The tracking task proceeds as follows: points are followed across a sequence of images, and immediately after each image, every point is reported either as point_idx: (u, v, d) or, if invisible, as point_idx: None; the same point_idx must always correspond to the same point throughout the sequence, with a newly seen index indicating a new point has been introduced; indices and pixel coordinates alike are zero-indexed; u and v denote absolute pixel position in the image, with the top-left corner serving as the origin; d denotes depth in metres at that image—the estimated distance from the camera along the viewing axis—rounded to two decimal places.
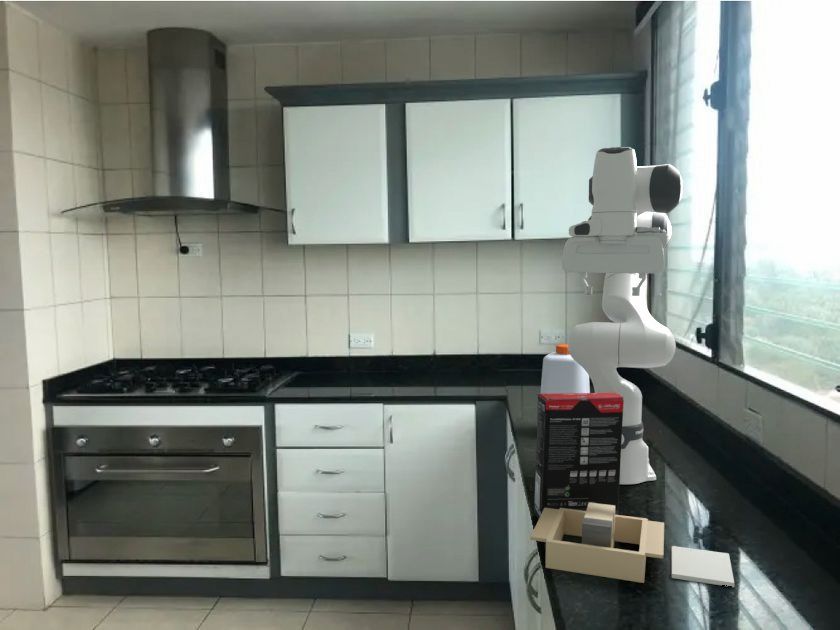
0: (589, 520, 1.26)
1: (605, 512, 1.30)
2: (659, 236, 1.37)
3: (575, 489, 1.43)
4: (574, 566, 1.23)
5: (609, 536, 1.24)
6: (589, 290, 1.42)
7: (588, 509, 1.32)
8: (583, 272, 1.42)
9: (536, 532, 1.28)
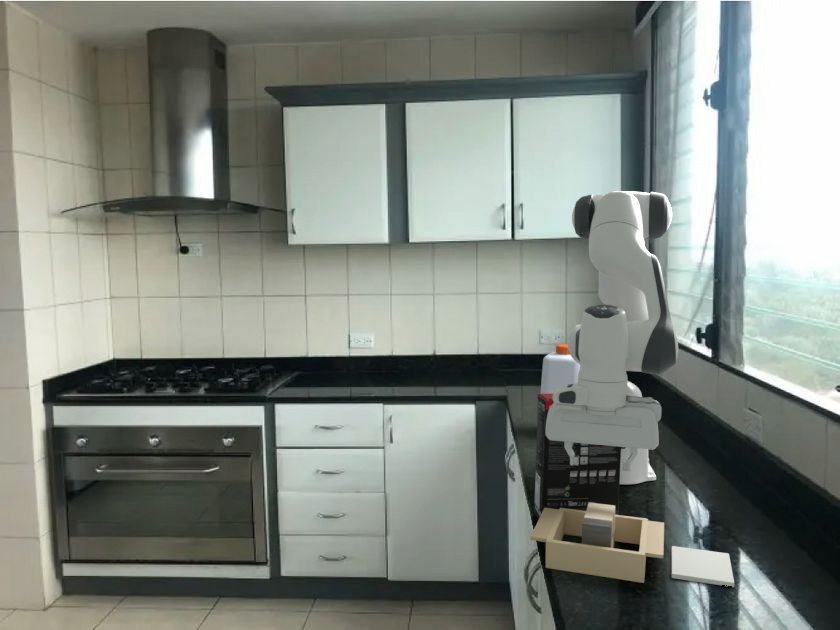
0: (589, 520, 1.26)
1: (605, 512, 1.30)
2: (652, 408, 1.24)
3: (575, 489, 1.43)
4: (574, 566, 1.23)
5: (609, 536, 1.24)
6: (575, 461, 1.29)
7: (588, 509, 1.32)
8: (569, 441, 1.28)
9: (536, 532, 1.28)
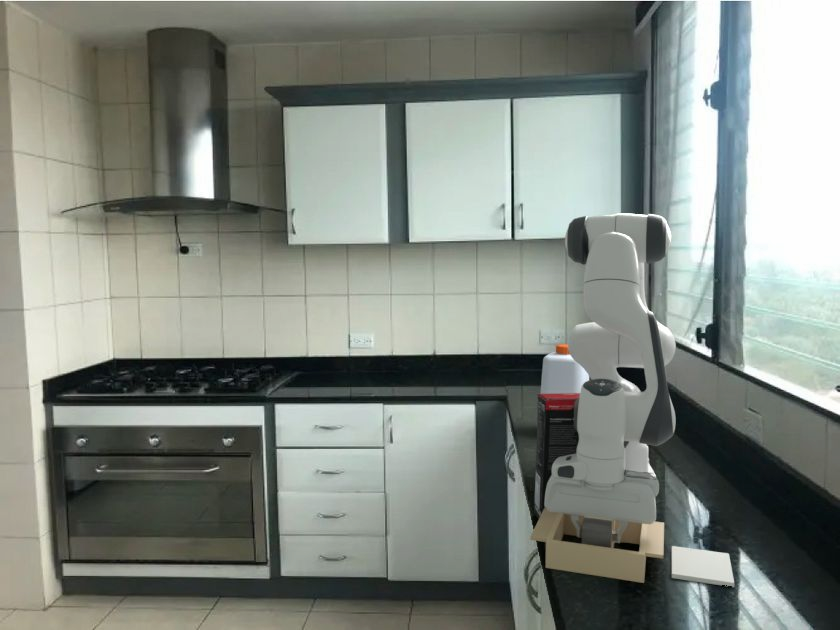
0: (589, 520, 1.26)
1: None
2: (650, 483, 1.25)
3: None
4: (574, 566, 1.23)
5: (609, 536, 1.24)
6: None
7: None
8: (567, 513, 1.30)
9: (536, 532, 1.28)
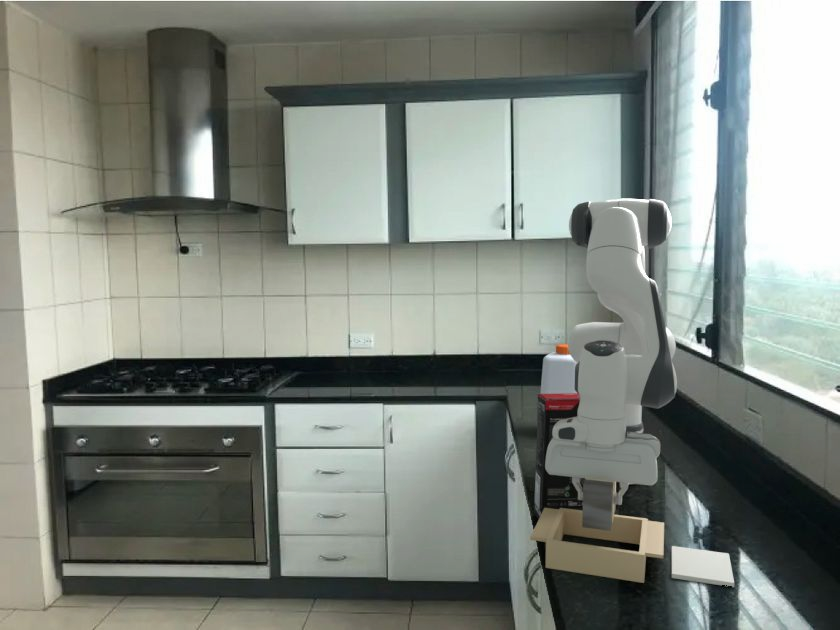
0: (590, 481, 1.26)
1: None
2: (651, 444, 1.25)
3: (575, 489, 1.43)
4: (574, 566, 1.23)
5: (610, 497, 1.23)
6: None
7: None
8: (568, 476, 1.30)
9: (536, 532, 1.28)
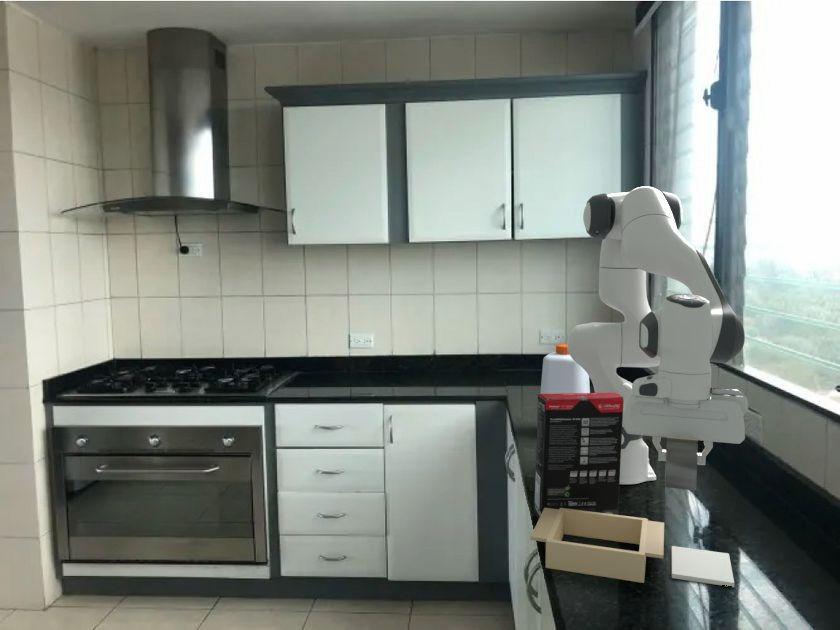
0: (673, 440, 1.21)
1: None
2: (738, 400, 1.19)
3: (575, 489, 1.43)
4: (574, 566, 1.23)
5: (696, 454, 1.18)
6: (664, 456, 1.24)
7: None
8: (648, 435, 1.24)
9: (536, 532, 1.28)
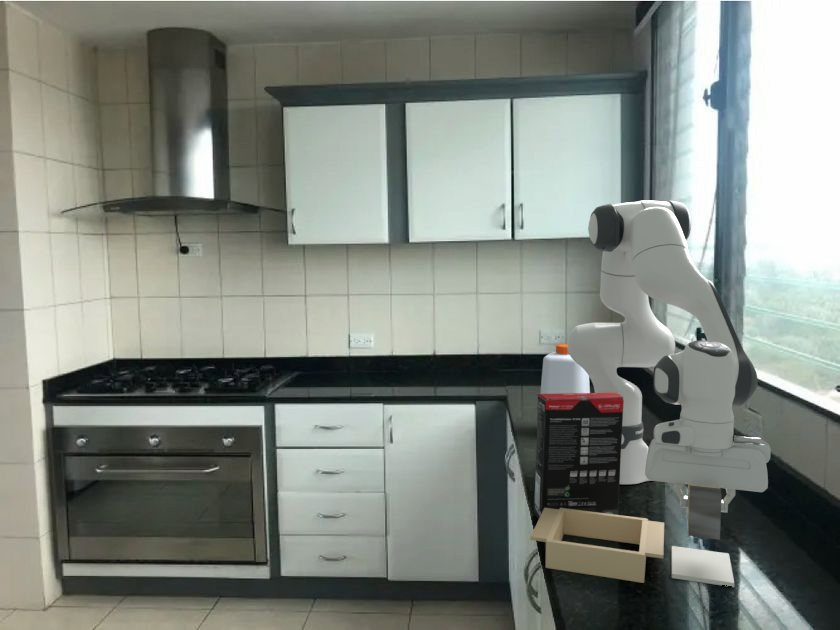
0: (696, 488, 1.20)
1: None
2: (761, 449, 1.19)
3: (575, 489, 1.43)
4: (574, 566, 1.23)
5: (720, 504, 1.18)
6: (686, 503, 1.24)
7: None
8: (670, 482, 1.24)
9: (536, 532, 1.28)
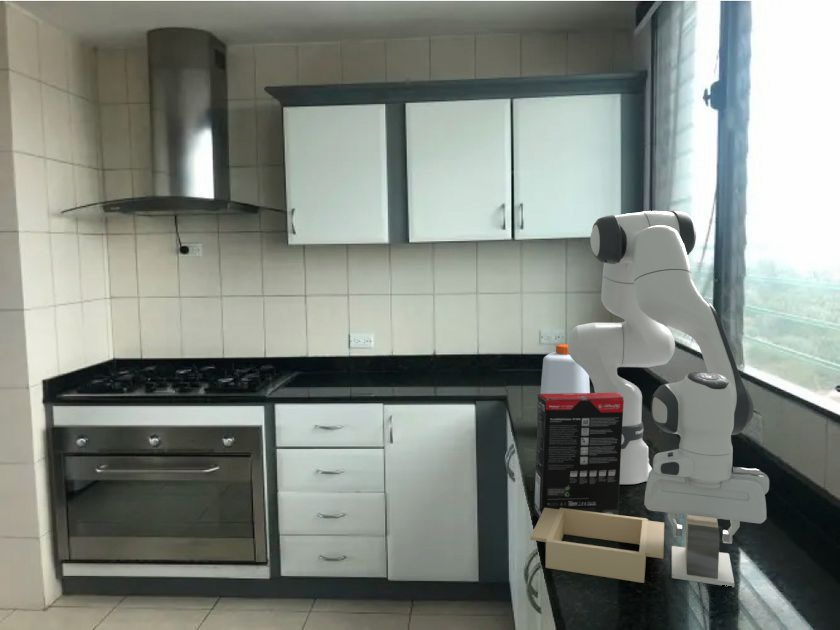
0: (694, 527, 1.21)
1: (708, 518, 1.25)
2: (759, 480, 1.20)
3: (575, 489, 1.43)
4: (574, 566, 1.23)
5: (718, 544, 1.18)
6: (679, 532, 1.25)
7: (689, 515, 1.27)
8: (669, 512, 1.25)
9: (536, 532, 1.28)
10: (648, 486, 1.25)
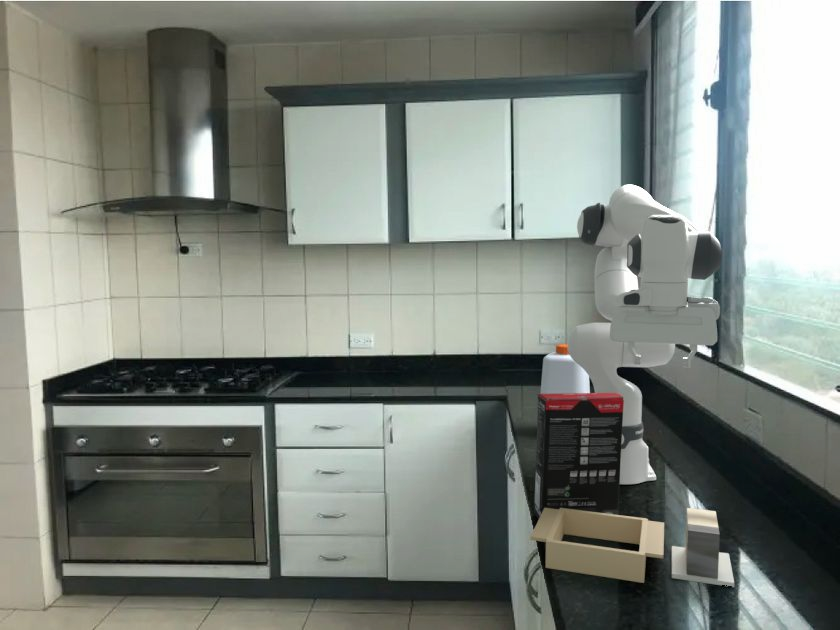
0: (694, 527, 1.21)
1: (708, 518, 1.25)
2: (711, 307, 1.34)
3: (575, 489, 1.43)
4: (574, 566, 1.23)
5: (718, 544, 1.18)
6: (638, 360, 1.39)
7: (689, 515, 1.27)
8: (632, 342, 1.39)
9: (536, 532, 1.28)
10: (613, 318, 1.39)
